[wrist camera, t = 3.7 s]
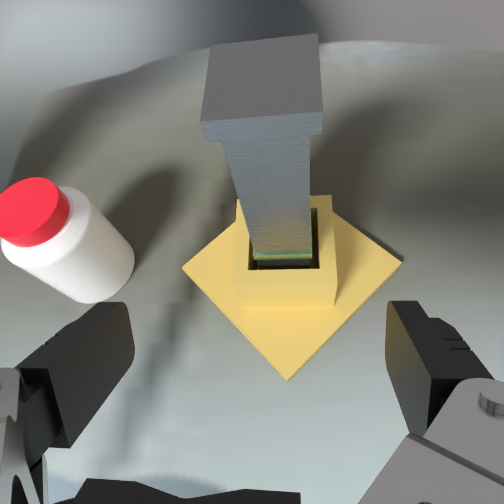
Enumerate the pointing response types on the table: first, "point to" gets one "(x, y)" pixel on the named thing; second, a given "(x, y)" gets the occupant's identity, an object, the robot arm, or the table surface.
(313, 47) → the column
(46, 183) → the pill bottle
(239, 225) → the stand base
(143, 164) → the table surface
